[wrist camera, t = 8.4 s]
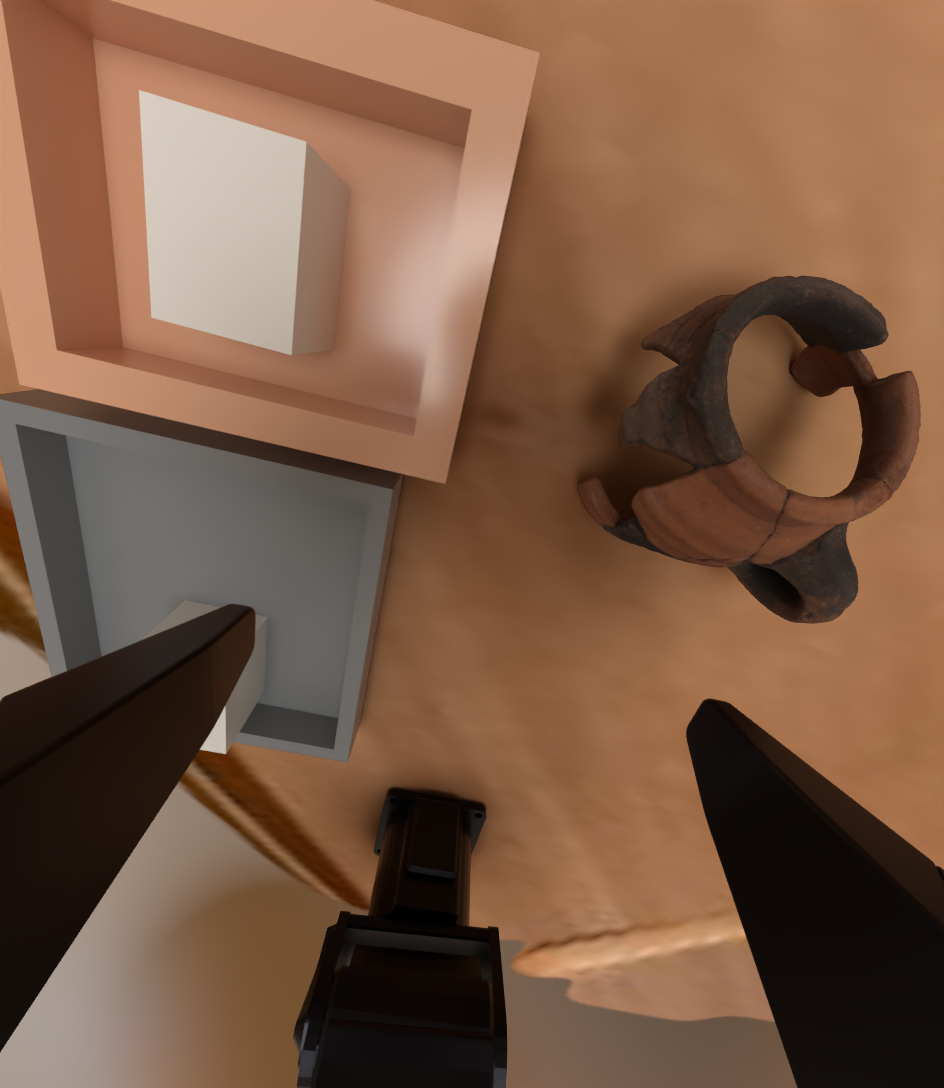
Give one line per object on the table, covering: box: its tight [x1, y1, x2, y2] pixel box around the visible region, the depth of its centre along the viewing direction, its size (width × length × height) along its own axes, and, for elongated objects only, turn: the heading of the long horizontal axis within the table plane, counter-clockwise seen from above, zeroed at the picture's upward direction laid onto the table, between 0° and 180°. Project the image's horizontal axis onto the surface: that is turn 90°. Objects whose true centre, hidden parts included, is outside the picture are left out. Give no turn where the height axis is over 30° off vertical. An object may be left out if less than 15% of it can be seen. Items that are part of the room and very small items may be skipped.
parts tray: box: [0, 389, 403, 763], centre depth 21 cm, size 16×15×3 cm
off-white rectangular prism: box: [141, 600, 268, 754], centre depth 21 cm, size 5×4×4 cm
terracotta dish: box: [0, 0, 540, 484], centre depth 14 cm, size 11×14×4 cm
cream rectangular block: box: [139, 90, 350, 355], centre depth 14 cm, size 5×4×4 cm
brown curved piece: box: [578, 276, 921, 624], centre depth 16 cm, size 12×10×8 cm
